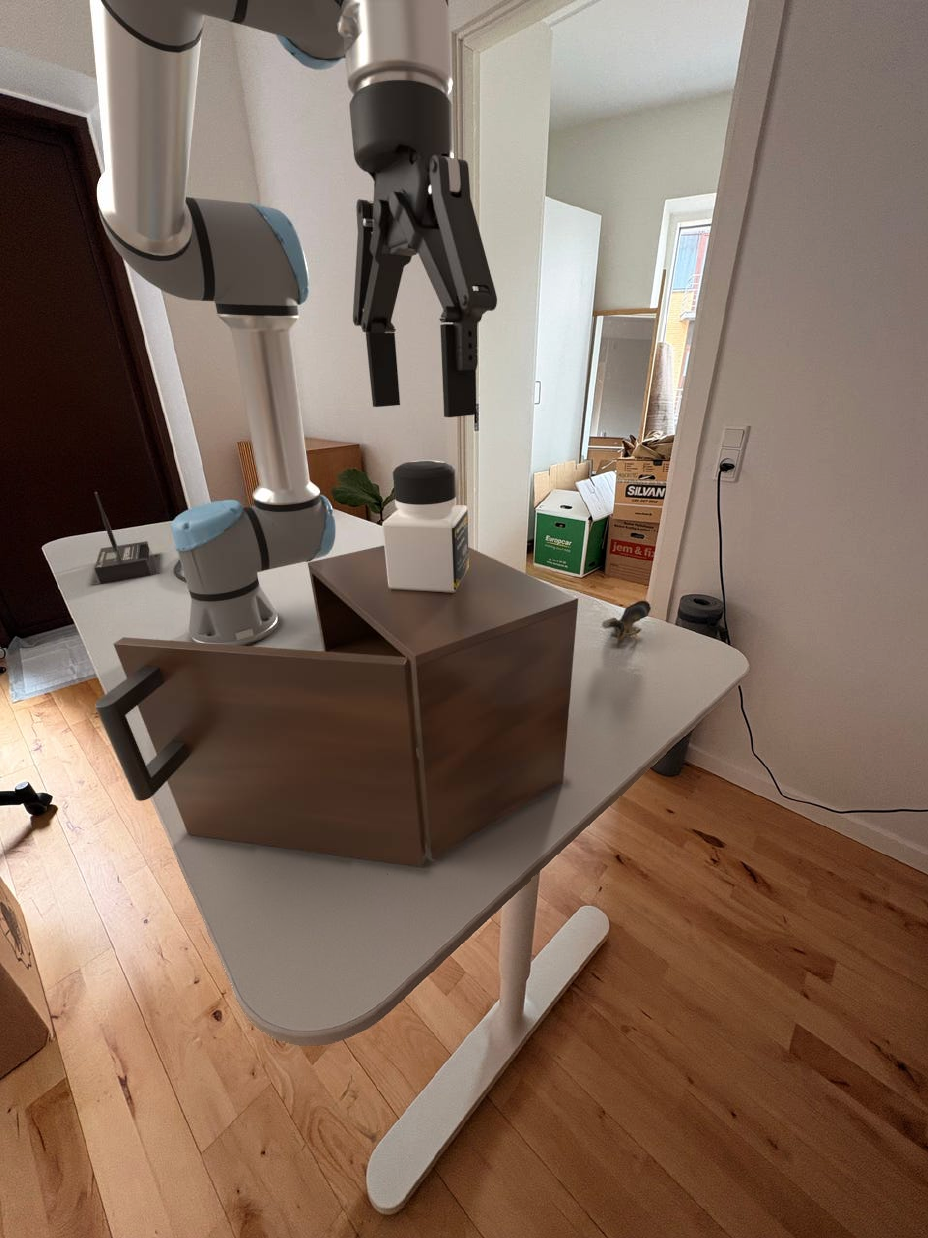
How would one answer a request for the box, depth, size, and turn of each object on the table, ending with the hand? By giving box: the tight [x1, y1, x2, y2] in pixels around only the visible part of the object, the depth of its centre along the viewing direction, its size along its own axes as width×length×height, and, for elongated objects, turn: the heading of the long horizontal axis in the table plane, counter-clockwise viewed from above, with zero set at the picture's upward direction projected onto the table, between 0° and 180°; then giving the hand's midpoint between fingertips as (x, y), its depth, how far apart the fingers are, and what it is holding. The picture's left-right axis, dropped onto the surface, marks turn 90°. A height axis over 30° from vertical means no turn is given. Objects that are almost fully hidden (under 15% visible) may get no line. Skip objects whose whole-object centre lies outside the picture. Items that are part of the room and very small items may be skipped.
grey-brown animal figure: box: [601, 600, 652, 648], centre depth 89 cm, size 8×7×9 cm
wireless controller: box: [91, 491, 160, 586], centre depth 125 cm, size 20×14×17 cm
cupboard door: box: [94, 637, 427, 868], centre depth 46 cm, size 7×26×24 cm, turn 80°
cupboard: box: [307, 544, 579, 859], centre depth 60 cm, size 18×26×24 cm
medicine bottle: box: [381, 459, 469, 593], centre depth 52 cm, size 7×7×12 cm
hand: (419, 410), depth 47 cm, fingers open, 13 cm apart
